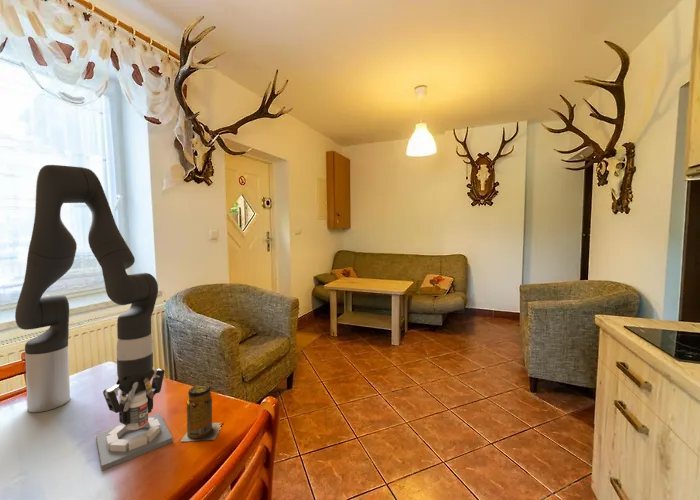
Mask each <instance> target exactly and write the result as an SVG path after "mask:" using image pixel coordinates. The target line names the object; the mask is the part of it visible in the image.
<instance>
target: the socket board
mask: <svg viewBox="0 0 700 500" xmlns="http://www.w3.org/2000/svg"><path fill="white" fill-rule="evenodd" d="M95 438H96V446H97V451H98V456H99V462H100V468H101V471H103V472H104V471H105V470H108V469H110V468H113V467H115V466H117V465H120V464H122V463H125V462H128V461H131V460H132V459H134V458H135V459H136V458H137V457H139V456H142V455H144V454H147V453H149V452H152V451H154V450H157V449H159V448H162V447H165V446H167V445H169V444H172V443H174V442H173V441H174V440H173V439H174V438H173V436H172V434H171V431H170V430H169V429H168V426H167V424H166V423H165V420H164V419H163V417H162V415H161V413H155V414H153V415H148V423H147V424H146V425H145V426H143V427H142V428H139V429H136V430H128V429H127V428H126V425H124V424H122V423H121V424H118V425H117V426H115V428H112V429H108V430H105V431H103V432H100V433H97V434H95Z"/></svg>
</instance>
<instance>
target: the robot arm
mask: <svg viewBox="0 0 700 500" xmlns="http://www.w3.org/2000/svg"><path fill="white" fill-rule="evenodd" d="M64 204H85V205H86V206H87V207H88V209H89V211H90V212H91V222H90V225H89V226H90V227H89V230H88V237H87V240H88V244H89V245H88V246H89V248H90V250H91V252H92V254H93V256H94V257H95V259H96V261H97V262H98V264H99V266H100V267H101V271H102V277H103V282H104V287H105V291H106V294H107V297H108V299H110V301H112V302H113V303H115V304H116V305H119V306H126V305H130V307H129V309H128V310H126V311H124V312H123V313H121V314H119V316H118V317H117V321H116V322H117V323H116V328H117V332H116V333H117V341H116V373H117V381H116V383H115V385H114V386H112V387H111V388H109V389H108V388H106V389H104V390H103V391H102V394H103V397H104V399H105V402H106V404H107V408H108V410H109V411H111V412H113V413H116V414H118V418H119V419H118V421H119V423H120V424H121V425H122V424H124V425H128V424H130V410H129V406H130V402H131V401H132V400H133V397H134V394H136V393H138V392H140V391H143V390H145V391H146V397H147V398H148V414H150V413H152V410H153V408H154V397H155V395H156V394H160V392H161V390H162V386H163V381H164V377H165V372H166V370H164V369H162V368H159V367H157V368H155V369H154V342H153V341H154V339H153V335H152V333H153V332H152V316H153V312H154V310H155V306H156V302H157V298H158V294H159V284H158V281H157V279H156V278H155V277H154V275H152V274H151V273H148V272H140V273H134V274H133V273H132V274H128V273H127V271H126V270H127V269H130V267H132V266H133V265H134V264H135V256H134V254H133V253H132V251H131V249H130V247H129V246H128V244H127V242H126V241H125V239H124V237H123V236H122V233H121V232H120V230H119V228H118V225H117V223H116V221H115V218H114V214H113V212H112V210H111V207H110V204H109V201H108V199H107V196H106V193H105V191H104V188H103V185H102V182H101V180H100V179H99V177H98V176H97V174H96V173H95V171H93V170H92V169H90V168H87V167H81V166H71V165H60V164H46V165H44V166H42V167H41V168H40V169H39V171H38V174H37V177H36V186H35V207H34V208H35V212H34V220H33V221H34V222H33V227H32V232H31V238H30V242H29V245H28V252H27V258H26V267H25V275H24V280H23V283H22V287H21V290H20V294H19V296H18V300H17V302H16V303H17V304H16V307H15V315H14V318H15V319H14V320H15V323H16V326H17V328H19V329H20V330H24V331H25V330H26V331H27V330H36V329H41V328H46V327H49V328H48V329H47V330H45V331H44V332H42V333H40V334H38V336H35V337H33V338H31V339H29V340H27V341H26V343H25V345H24V355H25V356H24V357H25V376H26V383H25V384H26V401H27V402H26V405H27V406H26V407H27V411H28V412H30V413H41V412H45V411H47V412H48V411H51V410H53V409H56V408H58V407H61V406H64V404H67V403H68V402H69V401H70V400H71V390H70V389H71V387H70V362H69V361H70V356H69V355H70V354H69V335H70V334H69V332H70V329H69V325H70V324H69V322H70V321H69V320H70V305H69V304H70V303H69V300H68V298H67V296H66V295H64V294H61V293H56V294H48V295H44V294H45V292H46V291H47V289H49V288H50V287H51V286H52V285H54V284H55V283H56V282H57V281H59V280H60V279H61V278H63V276H65V274H67V273H68V272H69V271H70V270H71V268H72V267H73V265H74V261H75V257H76V252H77V245H78V244H77V242H76V239H75V237H74V236H73V234H72V233H71V231H70V230H69V229H68V228H67V227H66V225H65V223H64V222H63V220H62V217H61V211H62V206H63V205H64ZM151 380H152V381H151ZM119 390H120V394H119V393H118V391H119ZM118 395H119V398H117V396H118ZM127 395H128V396H127ZM118 399H119V400H118Z"/></svg>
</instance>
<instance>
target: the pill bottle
mask: <svg viewBox="0 0 700 500" xmlns="http://www.w3.org/2000/svg"><path fill="white" fill-rule="evenodd" d="M127 396H128V395H127ZM129 410H130V424H128V425H126V428H127V429H128V430H136V429H139V428H142V427H143V426H145V425H146V424H147V423H148V417H149V413H148V398H147V397H146V391H145V390H143V391H140V392H138V393H136V394H134V397H133V400H132V401H131V402H130V406H129Z"/></svg>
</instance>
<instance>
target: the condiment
mask: <svg viewBox="0 0 700 500" xmlns="http://www.w3.org/2000/svg"><path fill="white" fill-rule="evenodd" d="M211 389H212V388H211V386H210V385H208V384H204V383H203V384H202V383H201V384H197V385H195V386H192V387H191V388H190V389H188V393H187V394H188V397H187V398H188V399H187V402H186V433H184V435H183V437H182V438H181V440H180V442H197V441H198V442H199V441H200V442H201V441H211V440H212V441H213V440H216V439H217V437H218V435H219V433H220V431H221V429H222V427H220V426H221V425H219V424H220V423H221V422H213V397H212V396H213V395H211V394H212V391H211ZM212 427H213V428H212ZM219 427H220V428H219ZM214 428H215V429H214ZM218 428H219V429H218ZM219 430H220V431H219Z"/></svg>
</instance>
